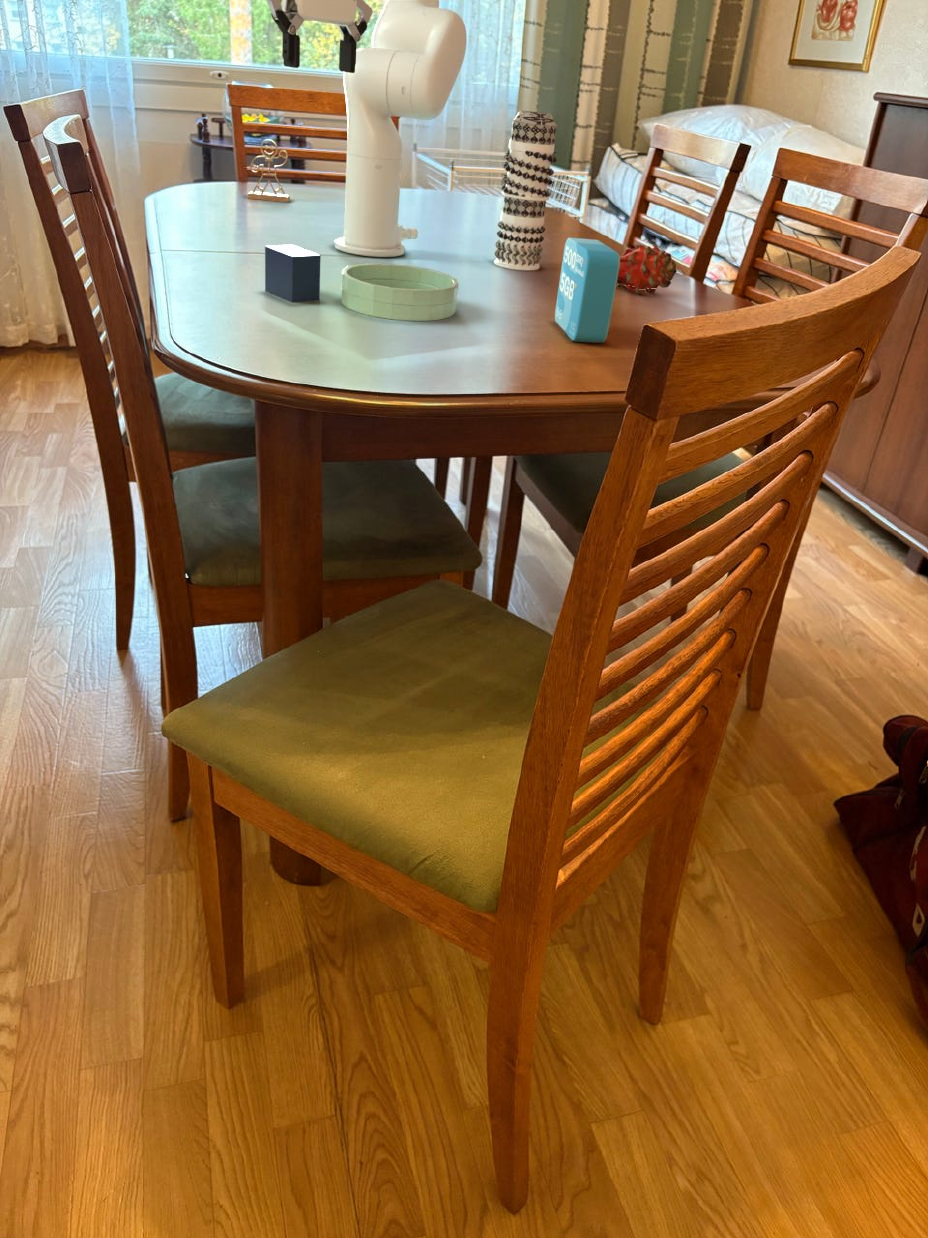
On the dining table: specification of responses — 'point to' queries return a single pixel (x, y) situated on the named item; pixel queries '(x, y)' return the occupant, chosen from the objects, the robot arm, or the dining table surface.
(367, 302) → the bowl
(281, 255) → the navy blue block
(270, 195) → the wire figure figurine
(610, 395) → the dining table surface
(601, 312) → the data package
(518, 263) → the decorative candle
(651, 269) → the dragon fruit
